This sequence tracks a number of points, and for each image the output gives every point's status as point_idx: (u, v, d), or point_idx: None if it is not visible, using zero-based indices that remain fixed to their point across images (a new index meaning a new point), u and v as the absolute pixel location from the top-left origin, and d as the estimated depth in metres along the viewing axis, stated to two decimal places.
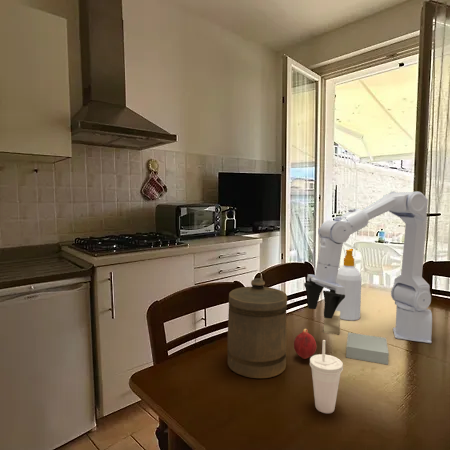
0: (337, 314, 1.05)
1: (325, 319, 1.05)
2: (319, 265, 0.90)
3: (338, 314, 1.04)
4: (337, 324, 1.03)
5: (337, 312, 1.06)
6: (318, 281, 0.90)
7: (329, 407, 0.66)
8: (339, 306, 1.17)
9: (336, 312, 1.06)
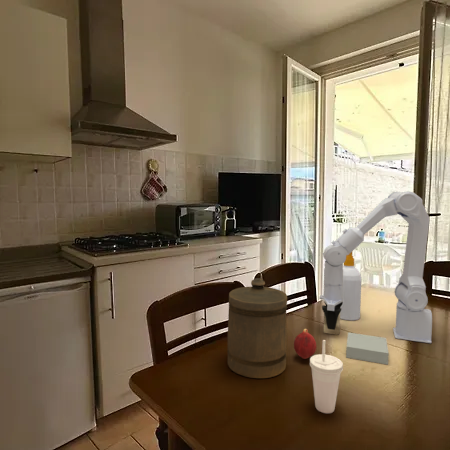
0: None
1: (325, 319, 1.05)
2: None
3: None
4: (337, 324, 1.03)
5: None
6: (322, 298, 1.05)
7: (329, 407, 0.66)
8: None
9: None
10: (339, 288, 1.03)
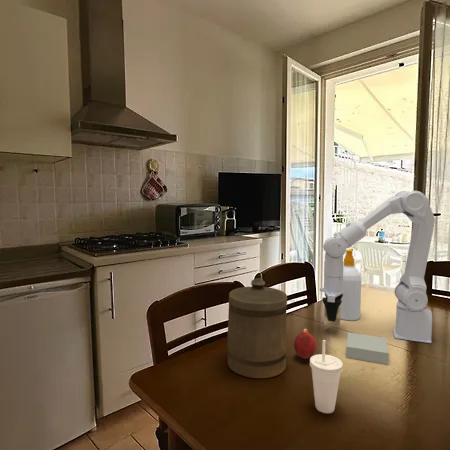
0: None
1: (325, 311, 1.04)
2: None
3: None
4: (337, 316, 1.03)
5: None
6: (323, 290, 1.05)
7: (329, 407, 0.66)
8: None
9: None
10: (339, 280, 1.02)
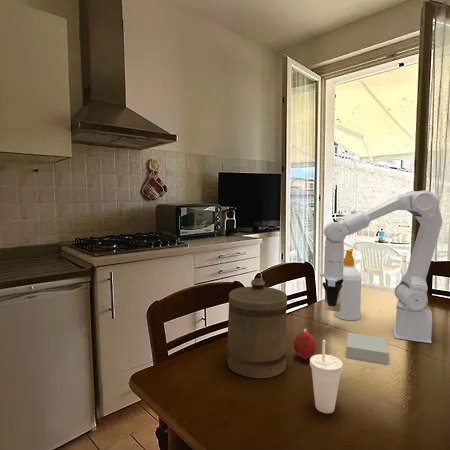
0: None
1: (326, 296, 1.04)
2: (324, 262, 1.05)
3: (339, 291, 1.04)
4: (338, 301, 1.03)
5: None
6: (323, 275, 1.05)
7: (329, 407, 0.66)
8: None
9: None
10: (340, 264, 1.02)
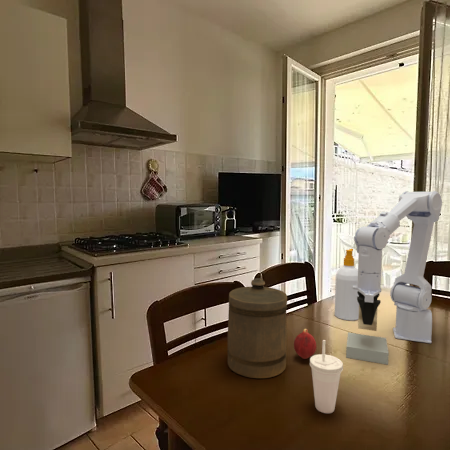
0: None
1: (360, 313, 0.89)
2: (358, 272, 0.90)
3: None
4: (375, 318, 0.88)
5: None
6: (357, 288, 0.90)
7: (329, 407, 0.66)
8: (339, 306, 1.17)
9: None
10: (377, 276, 0.87)
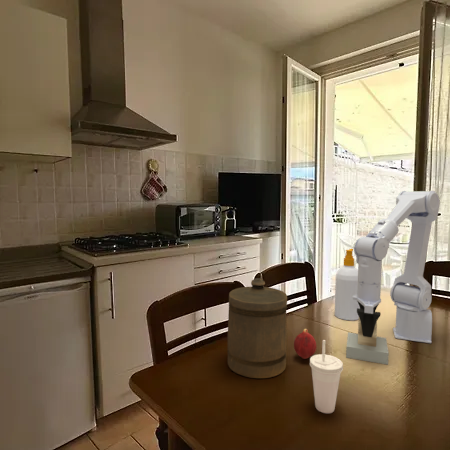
0: None
1: (360, 328, 0.89)
2: None
3: None
4: (374, 334, 0.88)
5: None
6: (356, 298, 0.90)
7: (329, 407, 0.66)
8: (339, 306, 1.17)
9: None
10: (377, 287, 0.87)
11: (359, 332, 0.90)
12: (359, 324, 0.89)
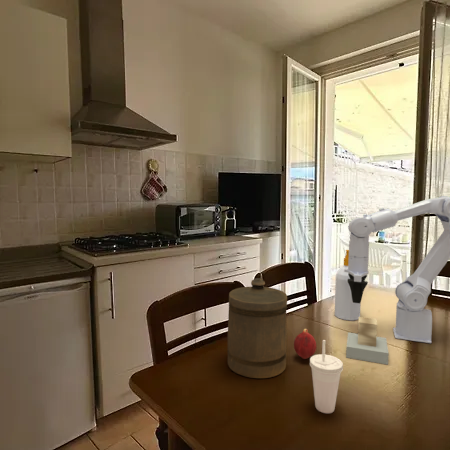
0: (374, 322, 0.89)
1: (360, 328, 0.89)
2: None
3: (375, 322, 0.89)
4: (374, 334, 0.88)
5: (373, 320, 0.91)
6: (347, 271, 1.04)
7: (329, 407, 0.66)
8: (339, 306, 1.17)
9: (372, 320, 0.91)
10: (365, 260, 1.01)
11: (359, 332, 0.90)
12: (359, 324, 0.89)
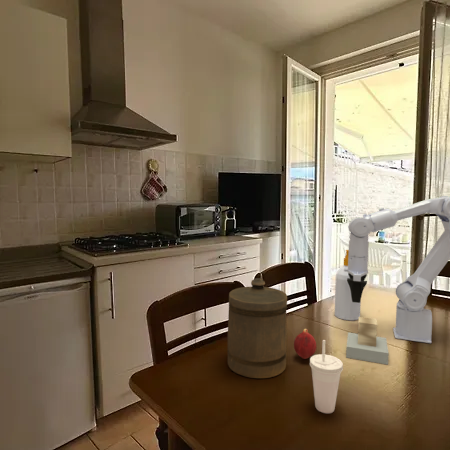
0: (374, 322, 0.89)
1: (360, 328, 0.89)
2: (348, 257, 1.05)
3: (375, 322, 0.89)
4: (374, 334, 0.88)
5: (373, 320, 0.91)
6: (347, 270, 1.05)
7: (329, 407, 0.66)
8: (339, 306, 1.17)
9: (372, 320, 0.91)
10: (365, 260, 1.02)
11: (359, 332, 0.90)
12: (359, 324, 0.89)
